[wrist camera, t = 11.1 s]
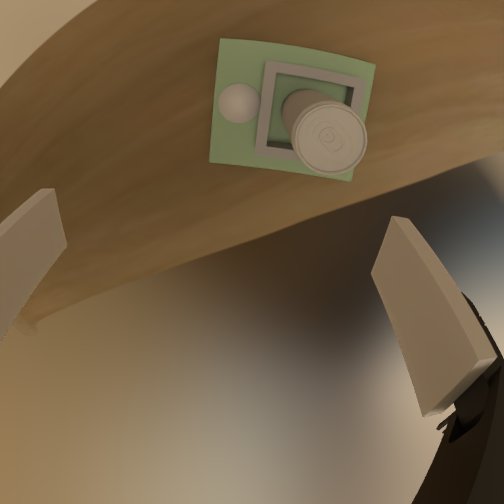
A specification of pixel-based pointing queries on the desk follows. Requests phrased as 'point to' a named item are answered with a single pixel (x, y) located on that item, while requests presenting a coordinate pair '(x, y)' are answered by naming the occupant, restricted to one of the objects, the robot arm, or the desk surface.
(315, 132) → the beverage can
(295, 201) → the desk surface
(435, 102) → the desk surface
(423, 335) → the robot arm
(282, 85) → the green tray with frame
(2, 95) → the desk surface
